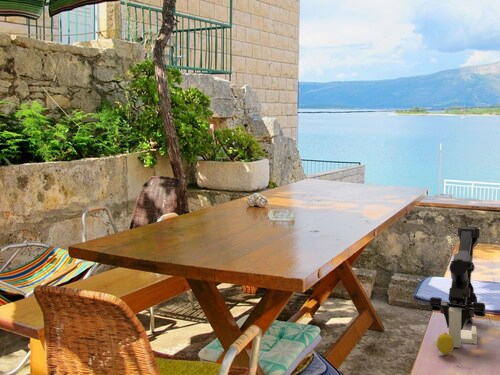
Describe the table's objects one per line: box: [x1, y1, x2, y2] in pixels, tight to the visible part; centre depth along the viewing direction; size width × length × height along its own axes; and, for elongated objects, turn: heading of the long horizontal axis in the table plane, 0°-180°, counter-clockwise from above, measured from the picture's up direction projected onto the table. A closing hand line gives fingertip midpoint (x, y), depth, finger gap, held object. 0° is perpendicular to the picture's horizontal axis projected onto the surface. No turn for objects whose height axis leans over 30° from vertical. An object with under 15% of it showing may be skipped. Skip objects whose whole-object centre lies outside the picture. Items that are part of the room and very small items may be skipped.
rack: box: [461, 325, 478, 345], centre depth 219 cm, size 9×9×4 cm
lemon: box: [436, 332, 455, 356], centre depth 204 cm, size 6×6×8 cm
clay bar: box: [448, 307, 462, 348], centre depth 211 cm, size 4×4×13 cm
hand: (454, 328), depth 210 cm, fingers closed on clay bar, 4 cm apart
